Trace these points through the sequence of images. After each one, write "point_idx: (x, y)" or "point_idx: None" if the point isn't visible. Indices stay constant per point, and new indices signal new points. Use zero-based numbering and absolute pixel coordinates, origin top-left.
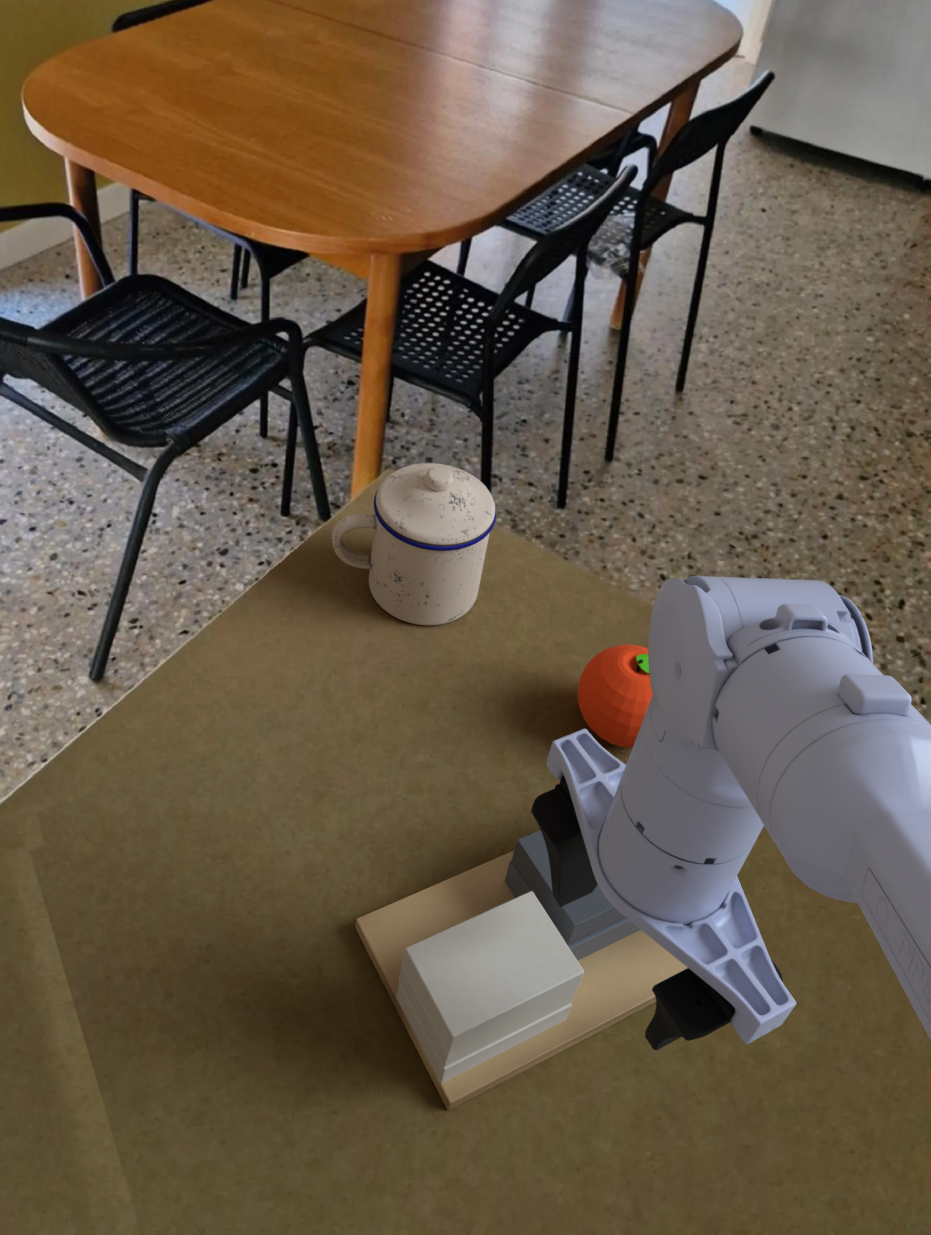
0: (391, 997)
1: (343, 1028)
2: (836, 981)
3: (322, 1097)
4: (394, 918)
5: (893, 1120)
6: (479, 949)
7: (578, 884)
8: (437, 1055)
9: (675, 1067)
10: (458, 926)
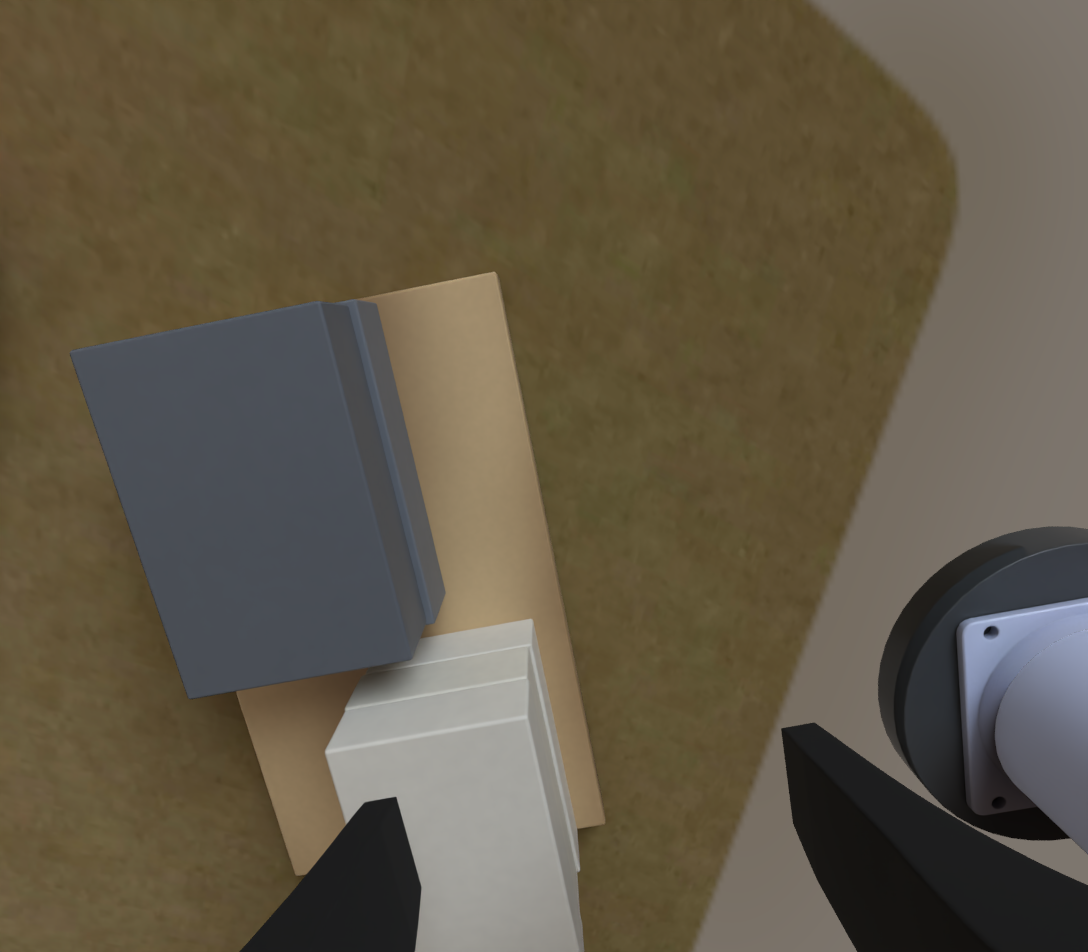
0: None
1: None
2: (577, 33)
3: None
4: (305, 822)
5: (836, 92)
6: (433, 892)
7: (391, 931)
8: None
9: (639, 449)
10: None
